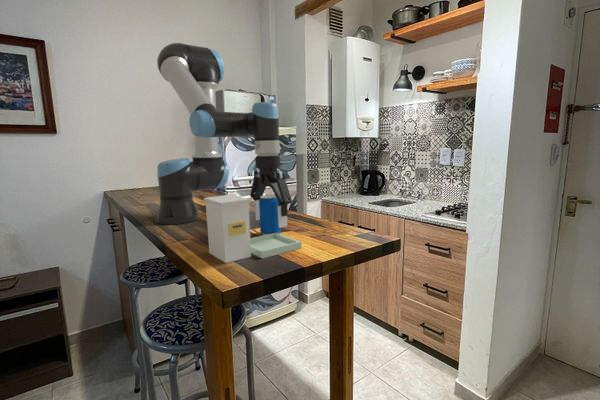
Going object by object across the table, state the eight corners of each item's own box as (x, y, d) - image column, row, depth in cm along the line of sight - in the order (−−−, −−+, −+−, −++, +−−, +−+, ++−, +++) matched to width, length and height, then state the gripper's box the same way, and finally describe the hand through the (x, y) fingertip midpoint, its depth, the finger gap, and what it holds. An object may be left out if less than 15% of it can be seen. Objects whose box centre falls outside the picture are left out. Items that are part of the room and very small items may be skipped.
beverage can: (277, 236, 100) (276, 198, 98) (257, 236, 102) (255, 198, 100) (283, 231, 107) (281, 194, 105) (264, 230, 108) (262, 194, 106)
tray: (239, 247, 91) (238, 240, 91) (276, 238, 98) (275, 232, 98) (262, 258, 81) (261, 251, 81) (301, 248, 89) (301, 241, 88)
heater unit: (207, 252, 87) (203, 197, 84) (233, 246, 91) (230, 194, 89) (225, 263, 78) (221, 203, 76) (253, 256, 83) (250, 199, 80)
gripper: (237, 155, 107) (241, 218, 111) (280, 155, 88) (283, 232, 91) (257, 154, 112) (260, 215, 115) (302, 154, 92) (304, 227, 96)
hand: (270, 222), depth 103 cm, fingers open, 13 cm apart
